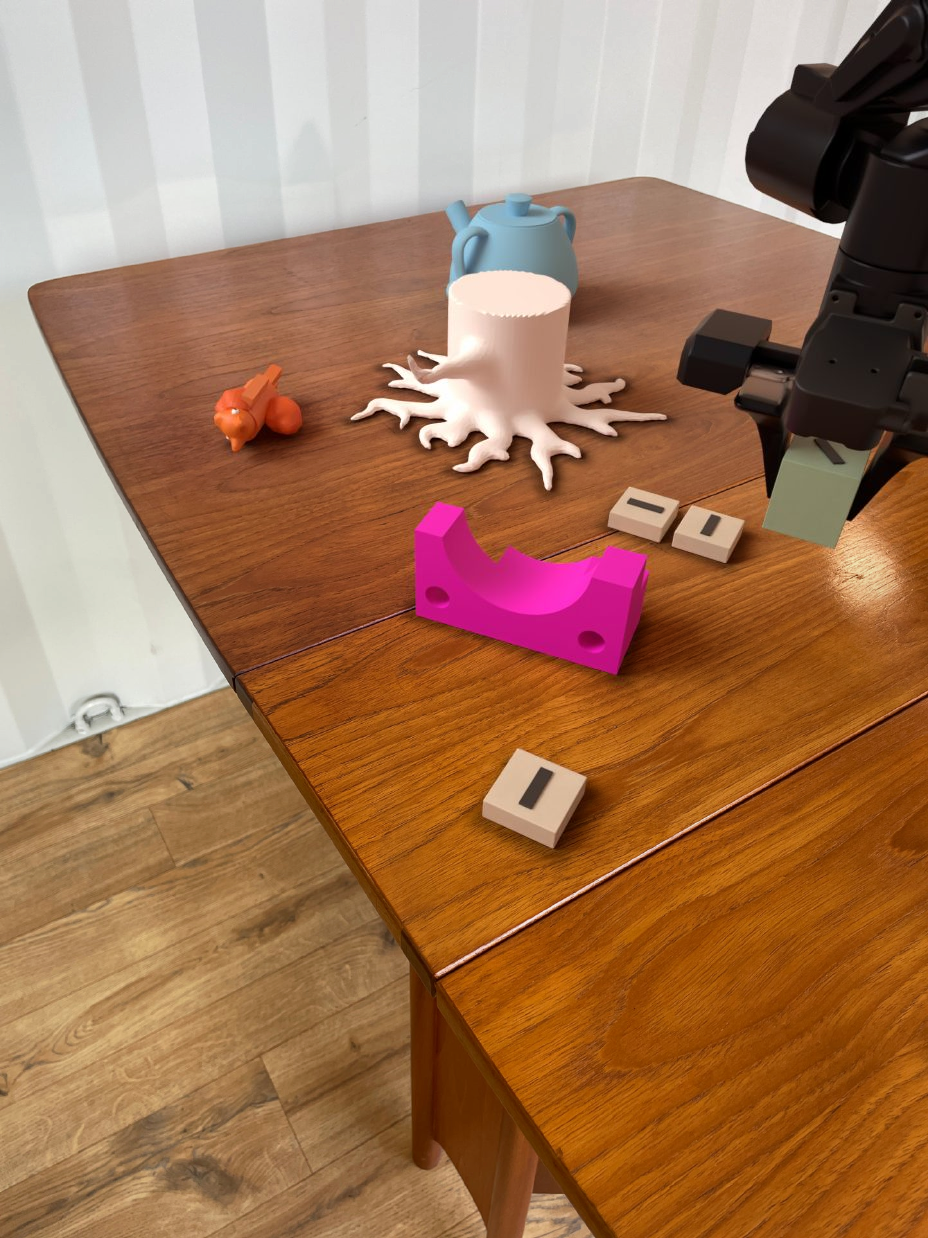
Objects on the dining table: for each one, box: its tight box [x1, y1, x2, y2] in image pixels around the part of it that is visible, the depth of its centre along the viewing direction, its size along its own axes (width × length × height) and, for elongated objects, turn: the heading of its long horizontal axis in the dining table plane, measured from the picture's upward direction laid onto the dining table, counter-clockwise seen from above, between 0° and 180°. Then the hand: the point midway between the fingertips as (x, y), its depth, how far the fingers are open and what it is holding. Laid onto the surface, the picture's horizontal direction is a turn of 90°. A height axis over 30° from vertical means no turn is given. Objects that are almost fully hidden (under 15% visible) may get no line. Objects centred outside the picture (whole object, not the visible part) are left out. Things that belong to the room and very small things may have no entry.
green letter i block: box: [761, 434, 873, 550], centre depth 55 cm, size 4×4×5 cm
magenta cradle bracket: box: [414, 501, 650, 676], centre depth 62 cm, size 15×6×8 cm, turn 67°
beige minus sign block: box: [481, 747, 588, 850], centre depth 51 cm, size 4×4×2 cm
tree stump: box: [350, 270, 668, 492], centre depth 86 cm, size 28×28×11 cm
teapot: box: [444, 192, 579, 300], centre depth 106 cm, size 20×20×13 cm
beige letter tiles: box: [607, 486, 746, 564], centre depth 73 cm, size 10×4×2 cm, turn 62°
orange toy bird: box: [212, 363, 303, 453], centre depth 83 cm, size 5×8×12 cm
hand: (809, 506), depth 56 cm, fingers closed on green letter i block, 4 cm apart
